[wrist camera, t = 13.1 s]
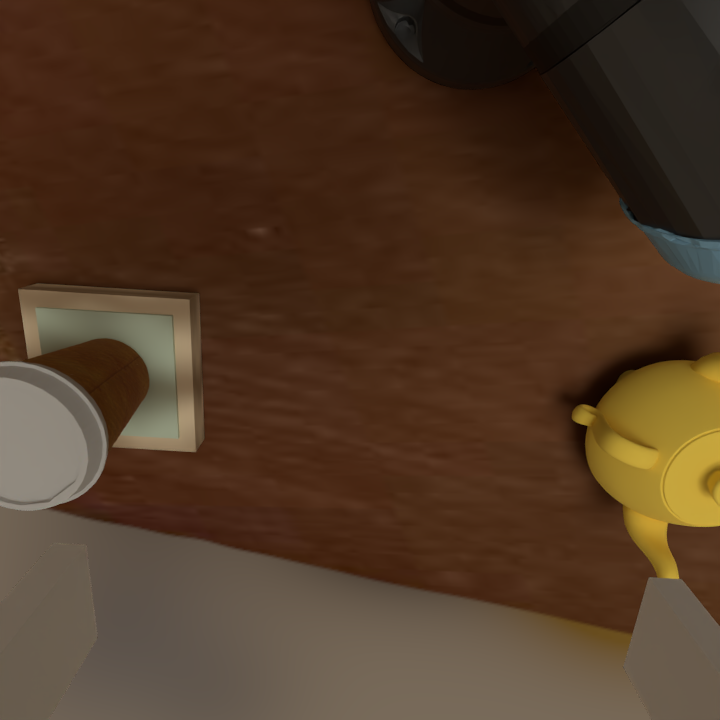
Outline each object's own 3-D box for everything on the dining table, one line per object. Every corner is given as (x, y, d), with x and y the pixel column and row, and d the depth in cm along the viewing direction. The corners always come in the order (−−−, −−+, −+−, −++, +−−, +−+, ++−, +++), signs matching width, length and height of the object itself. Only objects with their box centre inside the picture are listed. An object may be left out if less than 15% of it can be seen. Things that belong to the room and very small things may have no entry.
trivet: (37, 283, 42) (15, 289, 39) (199, 293, 42) (188, 300, 40) (57, 429, 46) (38, 444, 44) (204, 438, 46) (194, 453, 44)
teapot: (602, 284, 42) (686, 318, 31) (772, 330, 43) (911, 379, 32) (515, 494, 48) (559, 585, 37) (666, 530, 49) (752, 629, 38)
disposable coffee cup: (70, 436, 43) (-36, 525, 32) (33, 325, 40) (-98, 379, 29) (182, 423, 43) (115, 509, 31) (153, 310, 40) (68, 359, 28)
